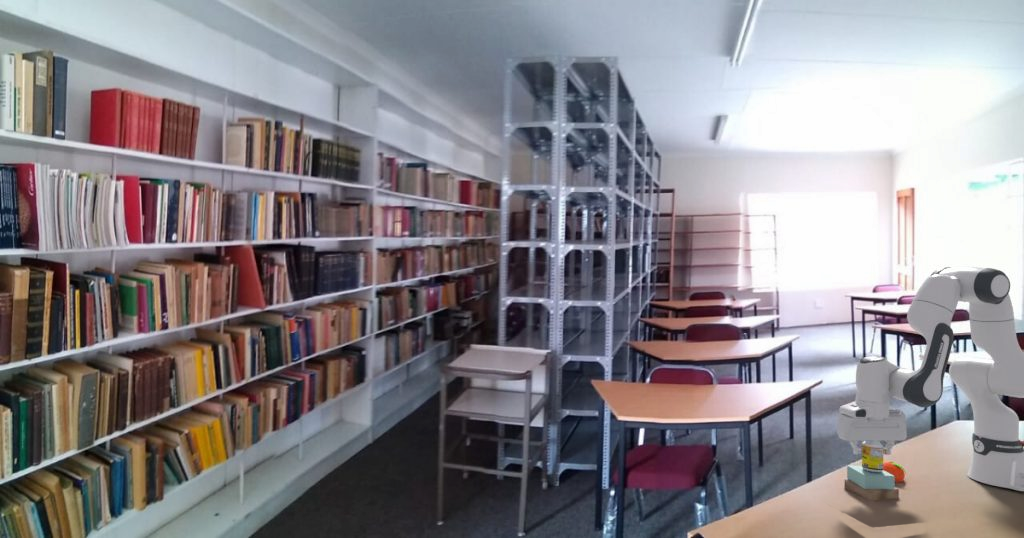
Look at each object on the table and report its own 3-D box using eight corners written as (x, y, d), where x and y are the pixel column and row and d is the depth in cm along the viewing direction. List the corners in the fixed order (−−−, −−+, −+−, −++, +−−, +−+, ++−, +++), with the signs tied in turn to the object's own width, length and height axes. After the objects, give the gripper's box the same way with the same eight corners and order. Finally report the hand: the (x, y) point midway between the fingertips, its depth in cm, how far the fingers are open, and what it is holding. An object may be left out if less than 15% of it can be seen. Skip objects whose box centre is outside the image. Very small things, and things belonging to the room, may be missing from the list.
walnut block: (870, 489, 181) (870, 477, 181) (898, 502, 172) (898, 488, 172) (844, 492, 179) (844, 479, 179) (871, 504, 169) (871, 491, 169)
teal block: (875, 478, 180) (875, 466, 180) (894, 489, 171) (894, 476, 171) (847, 478, 180) (847, 465, 180) (864, 488, 171) (864, 475, 171)
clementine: (912, 486, 183) (913, 464, 183) (899, 490, 180) (899, 467, 180) (887, 478, 191) (887, 457, 191) (874, 481, 188) (874, 460, 188)
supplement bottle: (860, 466, 179) (860, 433, 180) (881, 469, 177) (881, 436, 178) (863, 471, 174) (863, 436, 175) (885, 473, 172) (884, 439, 172)
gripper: (897, 407, 179) (896, 451, 179) (834, 407, 178) (833, 451, 178) (912, 411, 173) (911, 457, 173) (847, 411, 172) (846, 457, 172)
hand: (871, 454), depth 175 cm, fingers open, 8 cm apart
